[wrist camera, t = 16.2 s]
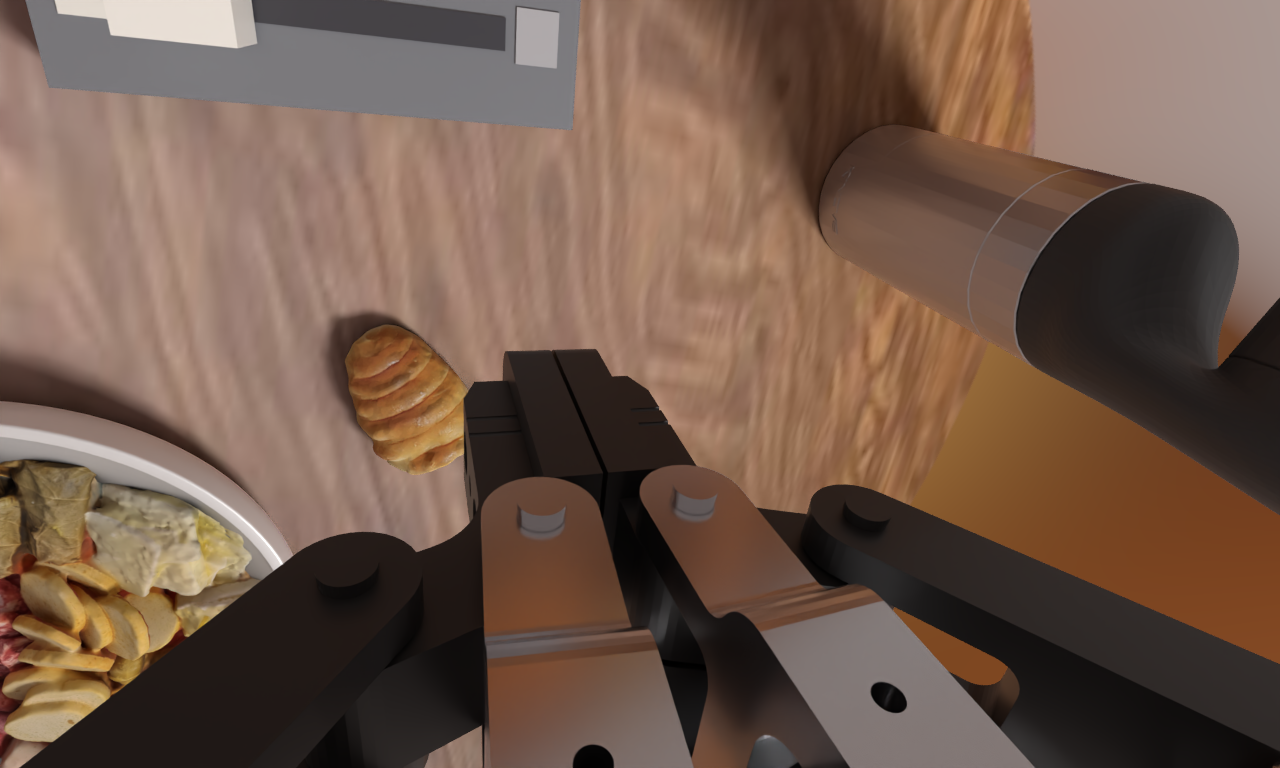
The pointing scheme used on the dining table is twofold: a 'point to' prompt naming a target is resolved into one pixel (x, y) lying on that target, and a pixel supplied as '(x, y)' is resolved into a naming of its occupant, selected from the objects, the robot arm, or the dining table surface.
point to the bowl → (107, 562)
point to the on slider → (184, 21)
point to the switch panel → (341, 58)
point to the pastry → (406, 399)
